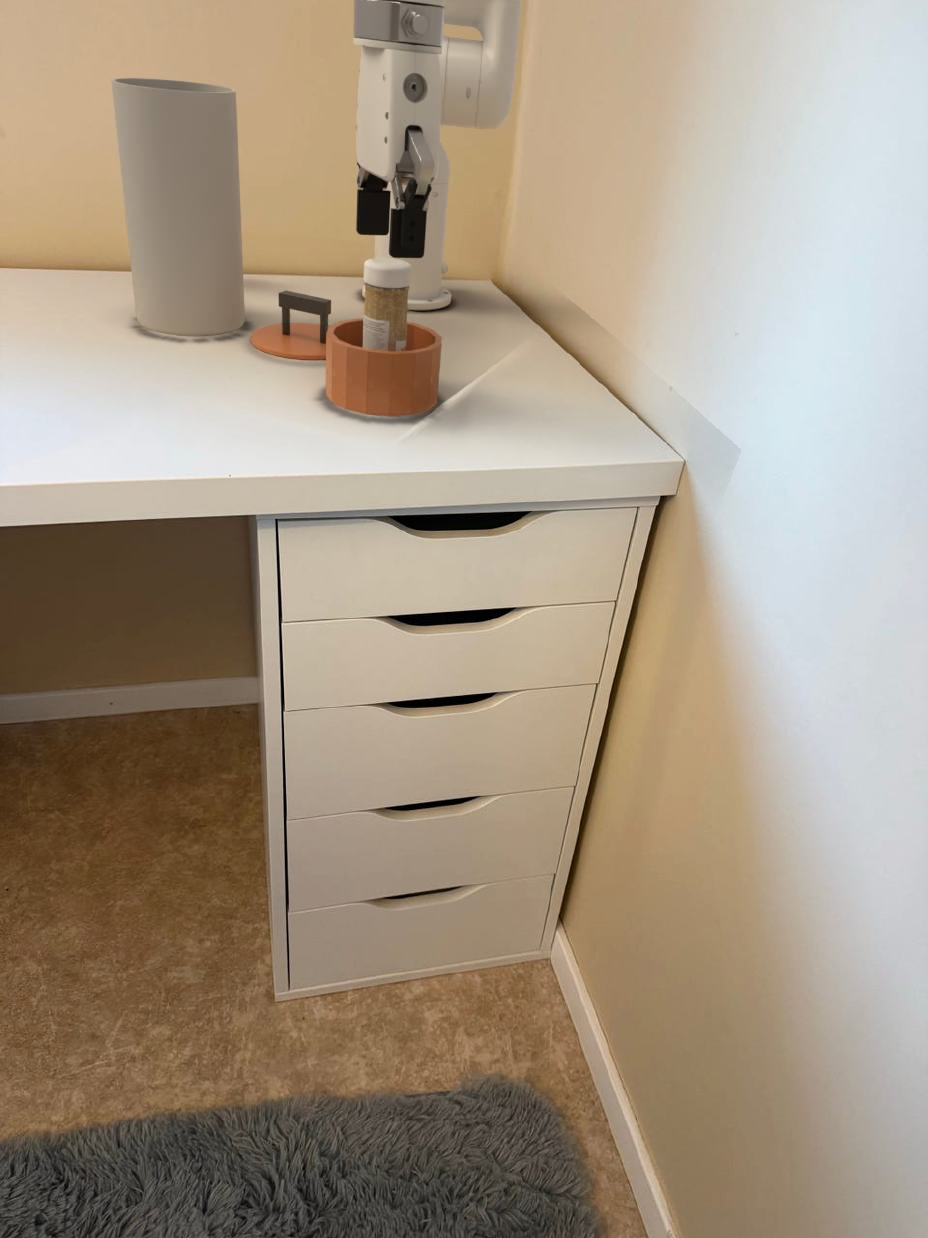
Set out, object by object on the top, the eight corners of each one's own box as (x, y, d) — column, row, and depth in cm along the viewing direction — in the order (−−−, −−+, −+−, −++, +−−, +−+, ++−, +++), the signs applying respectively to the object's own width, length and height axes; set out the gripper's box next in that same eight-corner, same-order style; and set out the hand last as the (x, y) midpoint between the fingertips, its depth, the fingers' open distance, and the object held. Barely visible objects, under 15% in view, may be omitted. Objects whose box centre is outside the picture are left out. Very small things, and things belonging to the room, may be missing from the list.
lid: (287, 325, 112) (286, 276, 109) (375, 345, 109) (377, 295, 105) (230, 350, 102) (227, 297, 99) (325, 372, 99) (325, 318, 96)
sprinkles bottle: (412, 402, 93) (420, 266, 86) (373, 407, 91) (378, 268, 83) (390, 387, 96) (396, 254, 89) (352, 392, 94) (355, 256, 86)
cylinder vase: (114, 327, 105) (85, 78, 91) (176, 304, 115) (158, 76, 101) (209, 347, 102) (193, 94, 88) (264, 321, 112) (257, 90, 98)
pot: (358, 374, 100) (360, 311, 96) (453, 396, 96) (459, 332, 93) (305, 404, 90) (305, 336, 87) (408, 430, 87) (412, 361, 84)
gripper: (480, 38, 70) (460, 267, 80) (405, 30, 83) (395, 227, 93) (389, 28, 68) (380, 266, 77) (326, 21, 81) (324, 225, 90)
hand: (388, 245), depth 85 cm, fingers open, 9 cm apart
